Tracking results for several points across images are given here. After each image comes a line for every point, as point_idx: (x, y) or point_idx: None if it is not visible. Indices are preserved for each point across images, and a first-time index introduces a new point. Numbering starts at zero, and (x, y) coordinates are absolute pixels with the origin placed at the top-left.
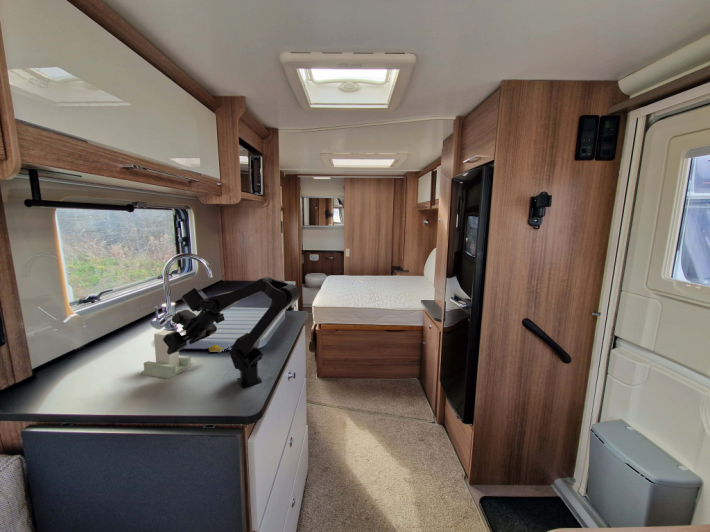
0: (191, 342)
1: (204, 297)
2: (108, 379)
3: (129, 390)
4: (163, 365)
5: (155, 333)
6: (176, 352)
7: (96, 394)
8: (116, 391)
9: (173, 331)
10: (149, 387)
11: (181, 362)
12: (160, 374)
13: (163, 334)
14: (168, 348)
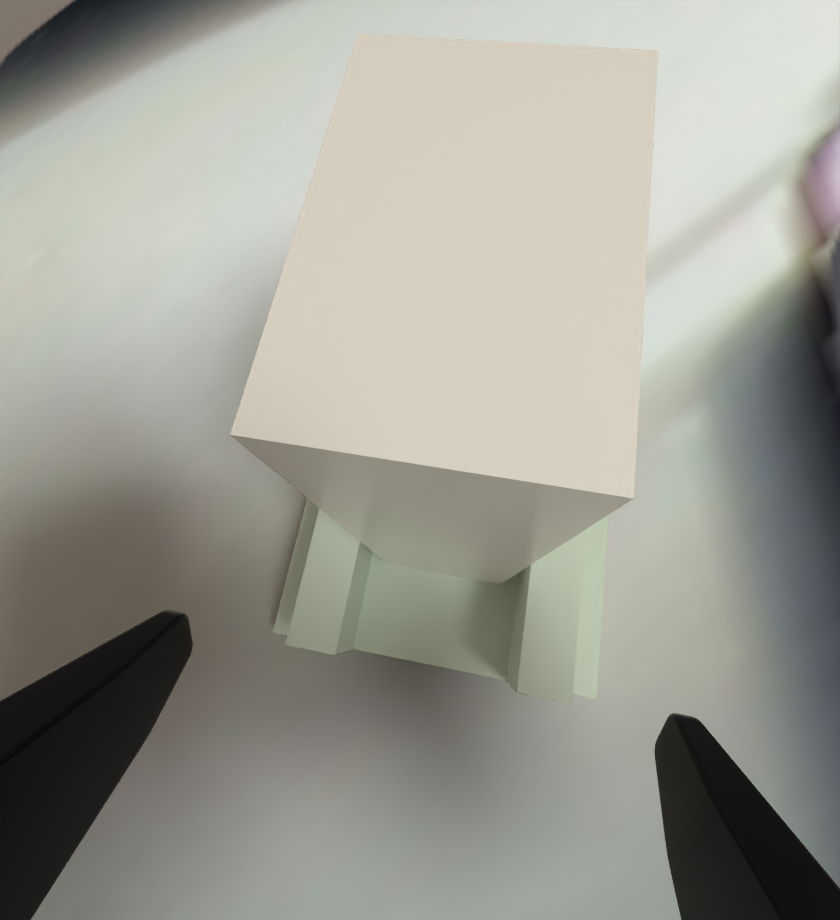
0: (672, 804)
1: None
2: (278, 206)
3: (118, 446)
4: (323, 522)
5: (387, 41)
6: (479, 564)
7: (95, 286)
8: (116, 372)
9: (619, 349)
10: (145, 565)
11: (518, 597)
12: (312, 525)
13: (323, 251)
14: (7, 709)
